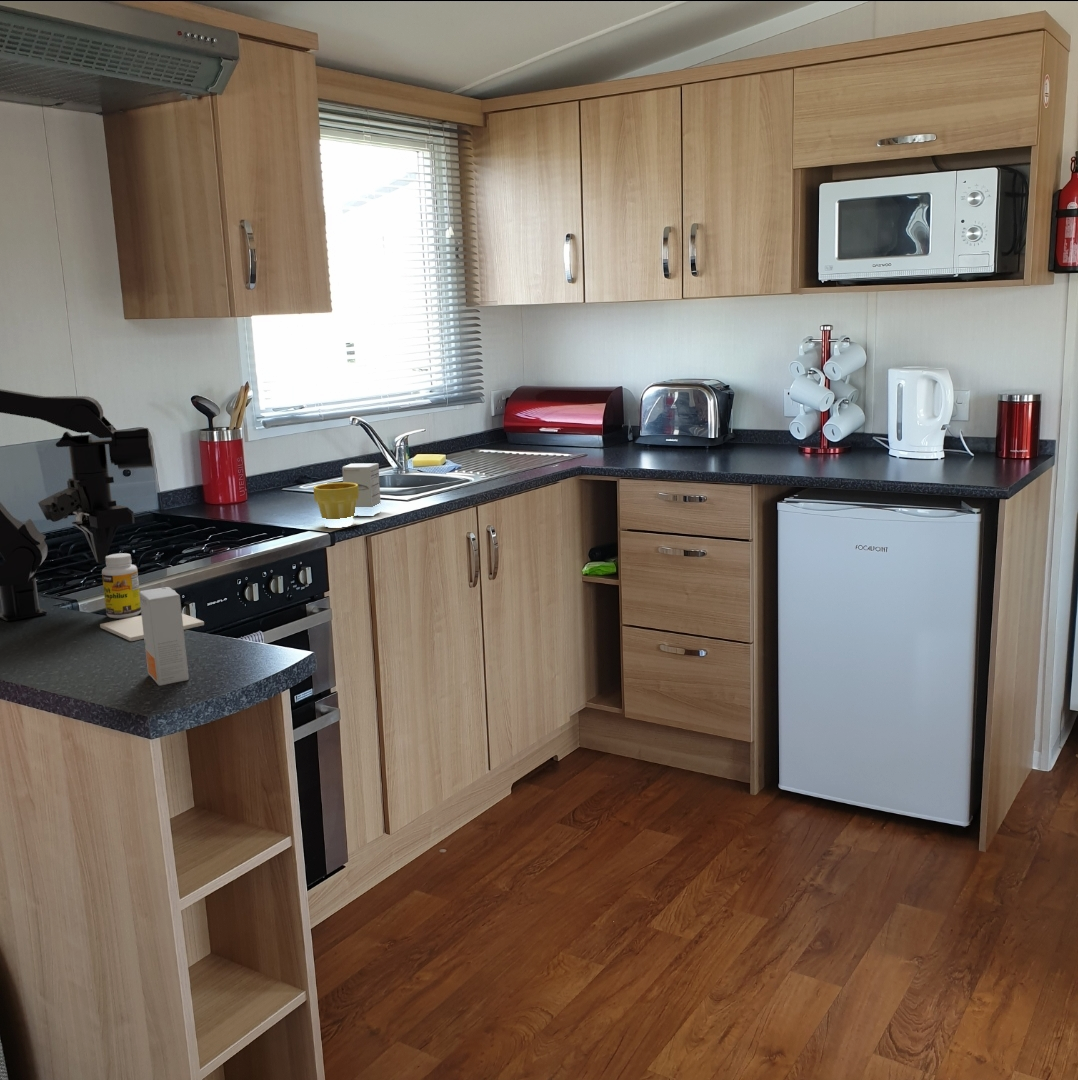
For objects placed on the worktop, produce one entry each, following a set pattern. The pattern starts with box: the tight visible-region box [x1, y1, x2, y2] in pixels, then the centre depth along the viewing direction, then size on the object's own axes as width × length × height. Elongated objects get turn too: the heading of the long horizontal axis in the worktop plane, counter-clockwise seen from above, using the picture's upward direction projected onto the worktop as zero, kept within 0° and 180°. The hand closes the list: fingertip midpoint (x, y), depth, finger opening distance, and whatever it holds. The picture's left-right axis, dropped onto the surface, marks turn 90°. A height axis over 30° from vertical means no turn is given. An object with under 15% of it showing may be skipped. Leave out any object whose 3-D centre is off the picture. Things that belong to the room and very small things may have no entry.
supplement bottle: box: [101, 552, 141, 619], centre depth 184 cm, size 6×6×10 cm
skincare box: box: [139, 586, 190, 686], centre depth 149 cm, size 6×4×12 cm
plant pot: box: [313, 481, 359, 519], centre depth 260 cm, size 10×10×10 cm
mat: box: [99, 612, 205, 642], centre depth 177 cm, size 12×12×1 cm
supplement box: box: [341, 462, 381, 507], centre depth 275 cm, size 7×7×13 cm
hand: (100, 562), depth 189 cm, fingers closed
